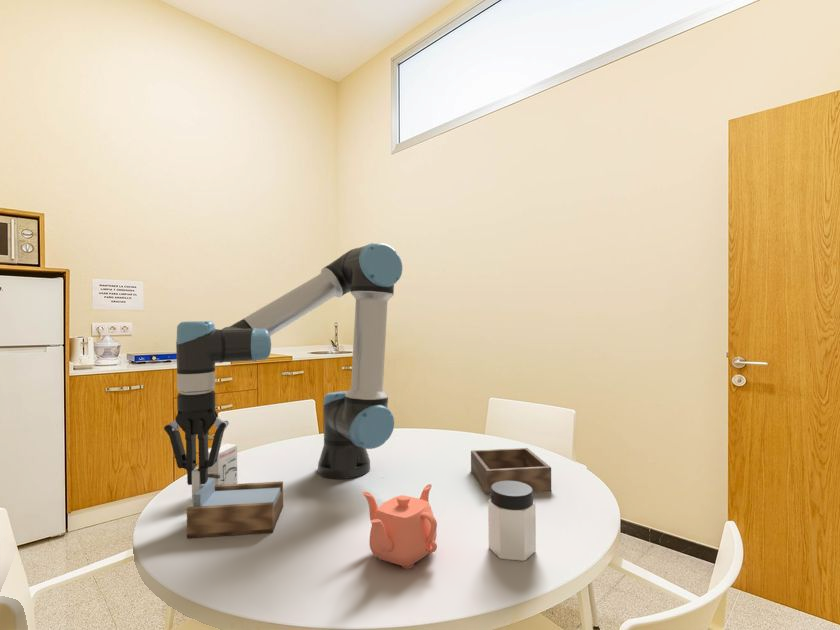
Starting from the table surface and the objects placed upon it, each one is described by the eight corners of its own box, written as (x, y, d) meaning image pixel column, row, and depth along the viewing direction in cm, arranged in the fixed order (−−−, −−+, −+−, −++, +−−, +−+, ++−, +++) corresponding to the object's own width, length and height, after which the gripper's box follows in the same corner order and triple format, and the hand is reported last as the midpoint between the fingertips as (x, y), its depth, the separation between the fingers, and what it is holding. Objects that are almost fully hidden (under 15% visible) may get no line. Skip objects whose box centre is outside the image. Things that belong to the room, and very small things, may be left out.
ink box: (218, 501, 112) (217, 453, 112) (200, 499, 113) (199, 452, 113) (238, 487, 120) (238, 443, 120) (221, 486, 121) (221, 442, 121)
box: (283, 506, 108) (283, 481, 108) (272, 532, 95) (272, 504, 95) (208, 511, 106) (208, 485, 106) (187, 538, 93) (186, 509, 93)
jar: (504, 534, 94) (504, 476, 94) (541, 547, 89) (541, 486, 89) (481, 551, 87) (481, 489, 87) (519, 567, 82) (519, 500, 82)
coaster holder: (527, 468, 133) (527, 447, 133) (551, 490, 117) (551, 467, 117) (471, 471, 131) (470, 450, 131) (487, 494, 114) (486, 470, 114)
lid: (280, 492, 106) (280, 474, 106) (271, 510, 97) (271, 491, 97) (209, 496, 104) (208, 478, 104) (192, 515, 95) (192, 495, 95)
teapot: (371, 582, 78) (370, 518, 78) (362, 541, 92) (361, 487, 91) (452, 570, 81) (451, 508, 81) (431, 532, 95) (431, 480, 95)
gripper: (232, 387, 104) (233, 490, 104) (172, 389, 102) (173, 493, 102) (222, 393, 96) (223, 503, 97) (157, 395, 95) (158, 507, 95)
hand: (197, 498), depth 100 cm, fingers closed
